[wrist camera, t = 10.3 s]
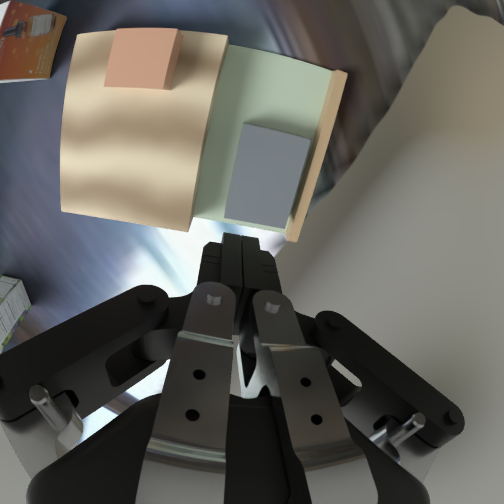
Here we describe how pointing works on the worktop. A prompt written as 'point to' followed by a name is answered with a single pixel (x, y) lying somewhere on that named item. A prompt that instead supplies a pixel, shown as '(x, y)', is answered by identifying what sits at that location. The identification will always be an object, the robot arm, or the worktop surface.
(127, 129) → the platform
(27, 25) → the small box
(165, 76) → the terracotta tile
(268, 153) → the slate tile
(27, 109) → the worktop surface
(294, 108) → the tray
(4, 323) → the syrup box
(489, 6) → the worktop surface
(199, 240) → the worktop surface
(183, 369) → the robot arm
